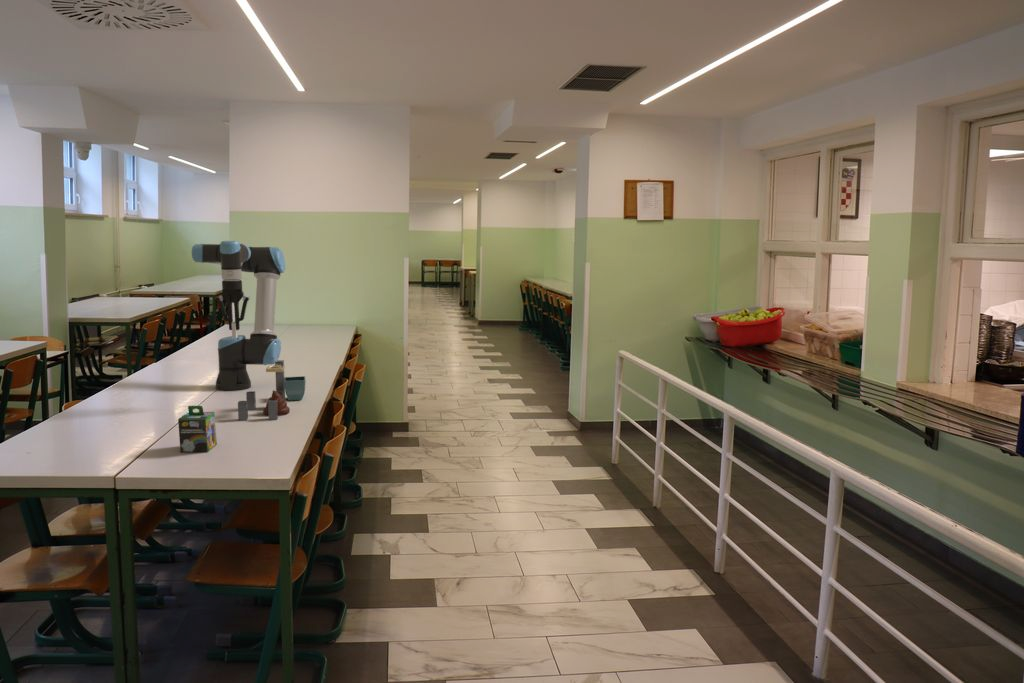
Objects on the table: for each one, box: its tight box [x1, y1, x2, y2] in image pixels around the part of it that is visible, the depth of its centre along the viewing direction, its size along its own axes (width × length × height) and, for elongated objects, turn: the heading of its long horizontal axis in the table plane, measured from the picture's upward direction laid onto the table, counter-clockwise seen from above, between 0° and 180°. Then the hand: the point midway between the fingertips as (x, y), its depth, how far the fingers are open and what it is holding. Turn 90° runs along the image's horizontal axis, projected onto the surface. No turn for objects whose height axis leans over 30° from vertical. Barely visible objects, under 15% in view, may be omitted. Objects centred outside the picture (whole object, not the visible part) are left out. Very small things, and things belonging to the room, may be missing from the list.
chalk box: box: [177, 405, 218, 453], centre depth 264 cm, size 9×9×15 cm
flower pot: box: [284, 375, 307, 401], centre depth 339 cm, size 9×9×9 cm
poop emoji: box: [262, 390, 291, 417], centre depth 314 cm, size 10×8×9 cm
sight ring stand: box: [265, 359, 286, 401], centre depth 317 cm, size 6×16×19 cm, turn 8°
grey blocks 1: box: [237, 391, 257, 422], centre depth 312 cm, size 3×20×7 cm, turn 8°
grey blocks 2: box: [267, 390, 284, 421], centre depth 313 cm, size 3×20×7 cm, turn 8°
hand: (234, 337), depth 324 cm, fingers closed
